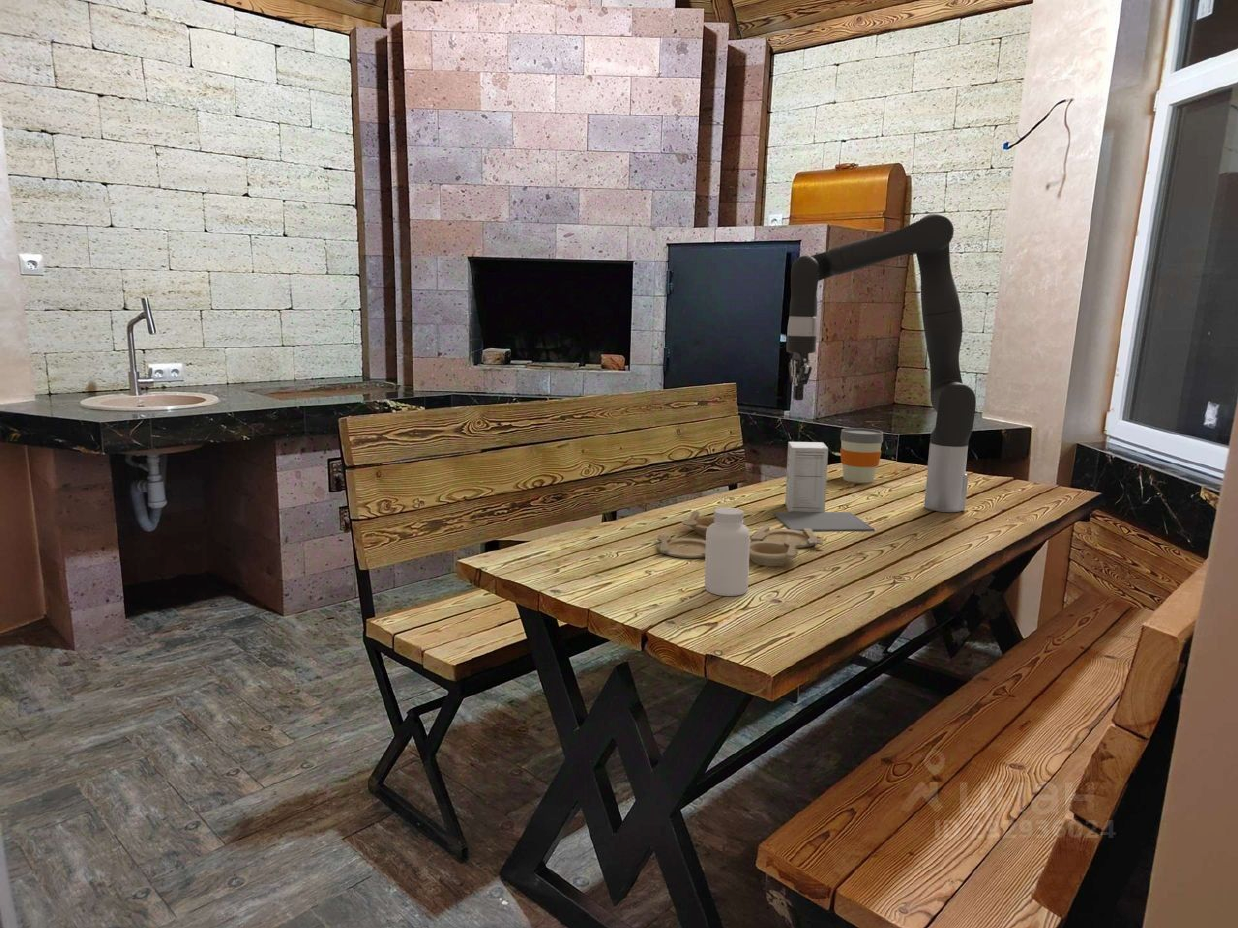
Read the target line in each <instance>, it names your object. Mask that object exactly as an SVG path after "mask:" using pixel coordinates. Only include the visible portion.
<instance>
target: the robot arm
mask: <svg viewBox="0 0 1238 928" xmlns="http://www.w3.org/2000/svg"><path fill="white" fill-rule="evenodd" d="M954 230H955V229H954V226H953V222H952V221H951V219H950V218H949V217H947V216H945V215H943V214H941V213H930V214H927V215H925V216H923V217H922V218H920V219H919V220H917V221H914V222H913V223H910V224H909V225H907V226H903V227H902V228H899V229H896V230H894V231H890V232H887V233H884V234H880V235H876V236H871V237H868V238H864V239H859V240H855V241H852V242H848V243H846V244H842V245H839V246H836V247H833V248H831V249H829V250H827V251H824V252H820V253H817V254H812V255H802V256H798V258H796V259H795V260H794V261H793V263H792V265H791V271H790V288H791V289H790V292H791V295H790V296H791V297H790V303H789V318H788V324H787V337H786V352H787V353H792V356H791V357H792V358H791V360H790V362H789V363H788V370H789V378H790V382H791V383H792V385H793V393H792V395H793V397H792V399H793V400H795V401H803V399H804V388H805V386H806V385H808V382H809V378H810V376H811V374H812V369H813V368H812V366H811V365H810V363H811V361H810V359H809V358H810V357H809V354H813V353H815V352H816V350H817V349H816V348H817V333H818V322H817V317H818V297H817V296H818V284H819V281H822V280H825V279H828V278H830V277H833V276H838V275H842V274H847V273H852V272H854V271H859V270H861V269H865V268H868V267H870V266H873V265H876V264H879V263H882V262H884V261H887V260H890V259H894V258H897V257H901V256H906V255H910V254H915V255H916V259H917V265H918V268H919V275H920V306H921V307H920V308H921V316H922V317H921V319H922V325H923V333H924V338H925V345H926V351H927V356H928V361H929V363H928V364H929V374H930V381H929V382H930V383H929V384H930V390H929V391H930V403H931V406H932V408H933V410H934V411H935V412H936V418H935V419H936V420H935V426H934V428H933V431H932V432H931V433H930V437H929V438H930V440H929V447H928V448H929V449H928V460H927V472H926V482H925V494H924V503H923V506H924V508H926V509H927V510H930V511H934V512H935V511H936V512H943V513H956V512H957V513H959V512H961V511H966V506H967V505H966V502H967V494H968V484H969V475H968V474H967V473H966V469H967V460H968V449H969V440H970V438H971V435H972V433H973V428H974V421H975V417H976V416H975V415H976V405H977V398H976V393H975V392H974V390H973V388H972V387H970V386H969V385H967V384H965V383H964V382H963V379H962V373H961V369H960V351H961V346H962V341H963V331H964V330H963V328H964V327H963V316H962V309H961V308H962V307H961V303H960V297H959V294H958V290H957V286H956V282H955V280H954V277H953V274H952V268H951V257H950V256H951V255H950V253H951V252H950V243H951V242H952V239H953V237H954V233H955V231H954Z"/></svg>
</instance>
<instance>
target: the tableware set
mask: <svg viewBox="0 0 1238 928" xmlns="http://www.w3.org/2000/svg"><path fill="white" fill-rule="evenodd" d="M713 523H715V522H714V515H701V516H700V511H697V510H693V511H691V514H690V516H689V518H688V519H684V520H682V521H681V524H682V525H683V526H688V527H691V528H693V529H694V530H695V531H696V533H697V534H698V535H700V536H703V537H706V531H707V528H708V527H709V526H710V525H711V524H713ZM657 541H658V544H657V547H656V548H657V550H658V551H659V553H661V554H664V555H667V556H671V557H674V558H682V559H699V558H705V553H706V539H700V538H699V539H698V538H689V537H682V538H681V537H677V538H672V536H671V535H669V534H668V535H667V534H666V535H665V534H663V535H661V534H657ZM815 545H820V546H823V545H824V542H823V541H822V540H821V539H819V538H818V537H817V536H816V535H814V531H812V529H810V528H804V531H798V530H791V529H789V528H775V529H773V528H772V529H770V526H769V525H768V526H767V525H763V526H761V528H760V529H758V530H757V531H756V532H755V533H754V534H752V536H750V551H749V558H750V559H751V561H752V562H753V563H754V564H756V565H759V566H763V565H764V566H765V567H781V566H784V565H786V563H787V561H788V560H789V559H795V558H796V556H797V555H798V553H799V549H803V548H809V547H813V546H815Z"/></svg>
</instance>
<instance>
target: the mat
mask: <svg viewBox="0 0 1238 928" xmlns="http://www.w3.org/2000/svg"><path fill="white" fill-rule="evenodd" d="M772 515H774V516H775V517H776V518H777V519H778V520H779V522H780V523H782V524H783V525H784V526H785V527H786V529H791V530H798V531H804V528H810V529H812V531H813V532H864V531H865V532H870V531H871V532H872V531H873V532H876V531H875V528H874V527H872V526H871V525H869V524H868V523H866V522H865V521H864V520H862V519H861V518H859V517H858V516H856V515H855V514H853V513H852V512H851V511H827V512H826V511H825V512H793V511H787V512H786V511H784V512H783V511H780V512H779V511H777V512H772Z"/></svg>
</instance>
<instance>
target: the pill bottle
mask: <svg viewBox="0 0 1238 928" xmlns="http://www.w3.org/2000/svg"><path fill="white" fill-rule="evenodd" d="M713 516H714V522H715V523H713V524H711V525H710V526H709V527H708V528H707V531H706V536H705V540H706V553H705V557H704V558H705V560H704V561H705V562H704V587H705V590H706V591H707V592H708V593H710V594H713V595H717V596H721V597H722V596H723V597H736V596H742V595H743V594H746V592H747V591H748V589H749V588H748V587H749V576H750V575H749V574H750V573H749V568H750V555H749V551H750V542H751V531H750V529H749V527H748V526H747V525H745V524H743V523H744V511H743V510H742V509H740V508H736V507H718V508H715V509H714V510H713Z"/></svg>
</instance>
